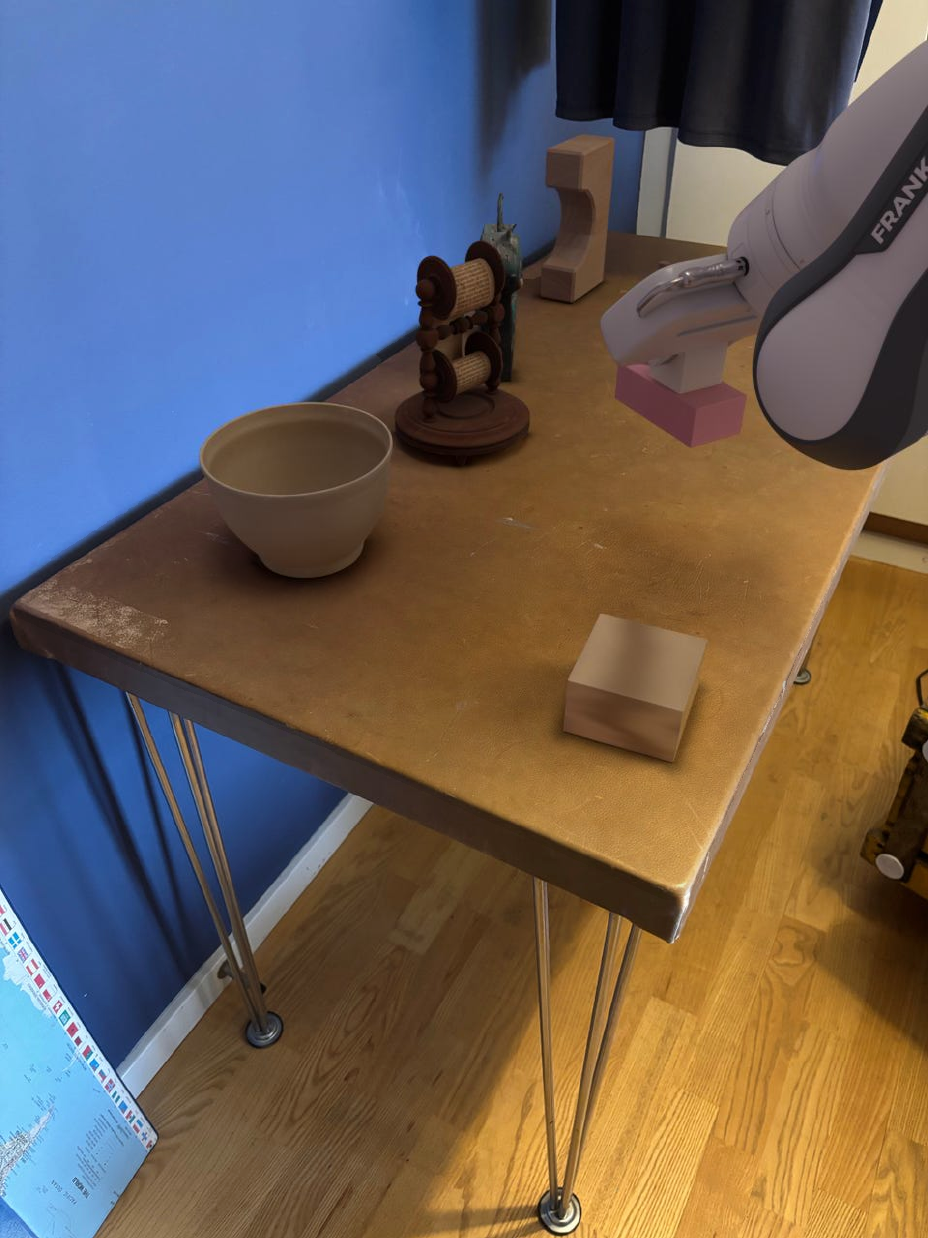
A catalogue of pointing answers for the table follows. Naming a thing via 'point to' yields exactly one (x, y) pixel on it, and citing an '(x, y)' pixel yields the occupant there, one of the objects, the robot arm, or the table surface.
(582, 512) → the table surface
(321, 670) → the table surface
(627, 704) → the birch block
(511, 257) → the ceramic cat
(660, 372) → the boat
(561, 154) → the decorative block
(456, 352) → the scroll
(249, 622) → the table surface
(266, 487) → the planter bowl
